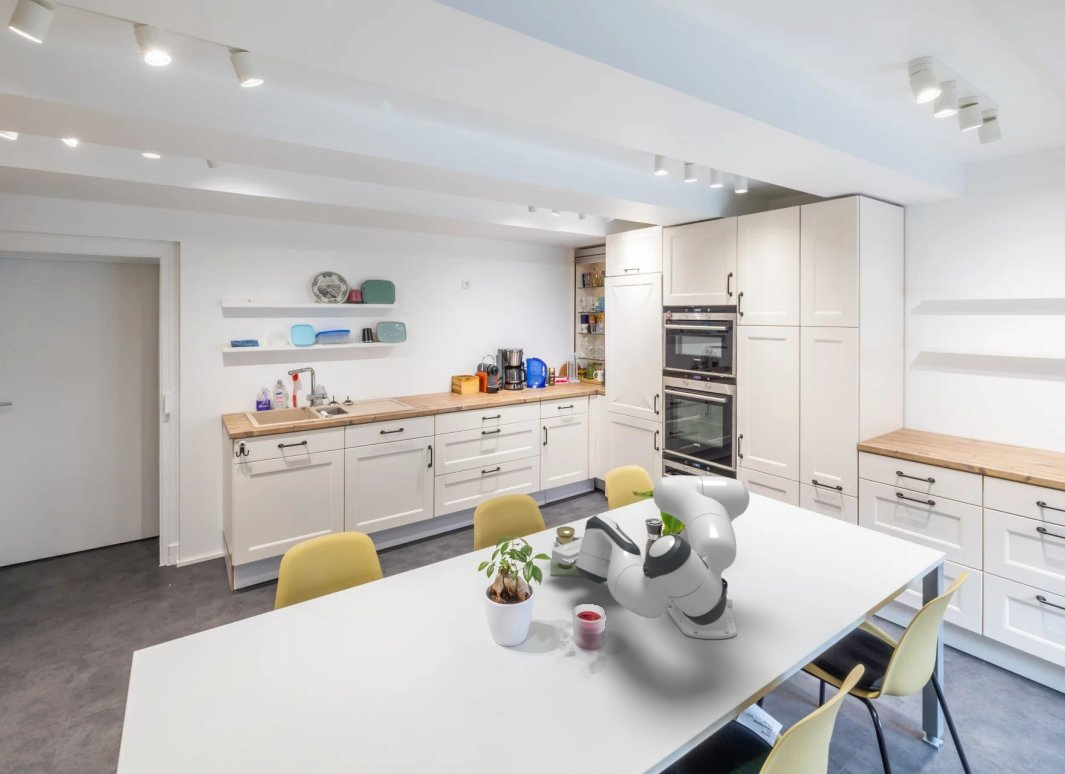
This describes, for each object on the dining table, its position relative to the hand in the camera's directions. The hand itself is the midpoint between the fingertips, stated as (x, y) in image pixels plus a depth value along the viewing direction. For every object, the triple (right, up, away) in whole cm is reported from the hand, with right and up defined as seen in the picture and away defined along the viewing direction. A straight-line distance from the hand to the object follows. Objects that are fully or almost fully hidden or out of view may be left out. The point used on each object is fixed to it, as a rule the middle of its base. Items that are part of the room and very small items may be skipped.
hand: (563, 541), depth 182 cm
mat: (+1, -9, 0) cm, 9 cm away
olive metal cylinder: (+1, -8, 0) cm, 8 cm away
